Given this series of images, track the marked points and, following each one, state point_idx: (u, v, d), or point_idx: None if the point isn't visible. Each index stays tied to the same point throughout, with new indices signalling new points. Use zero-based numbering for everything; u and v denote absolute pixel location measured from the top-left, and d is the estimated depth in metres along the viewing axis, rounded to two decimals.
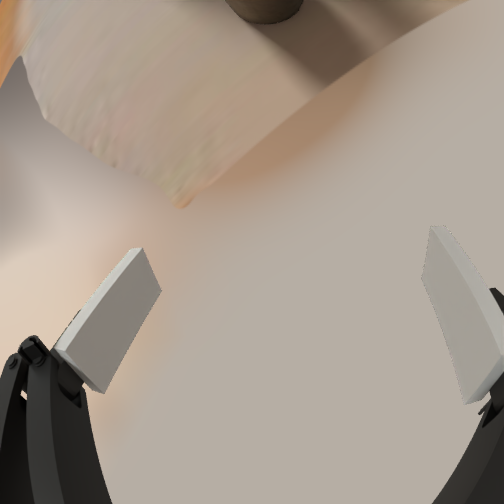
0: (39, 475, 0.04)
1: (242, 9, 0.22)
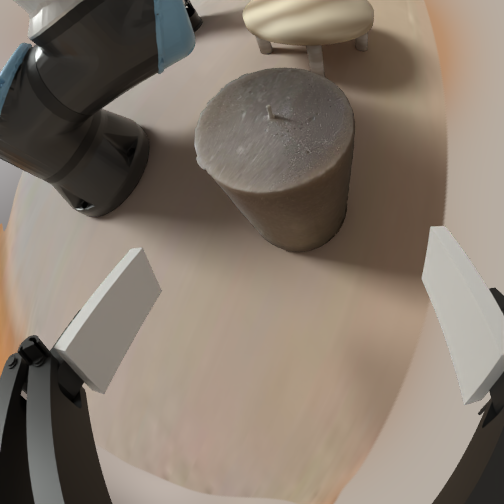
0: (39, 475, 0.04)
1: (297, 236, 0.21)
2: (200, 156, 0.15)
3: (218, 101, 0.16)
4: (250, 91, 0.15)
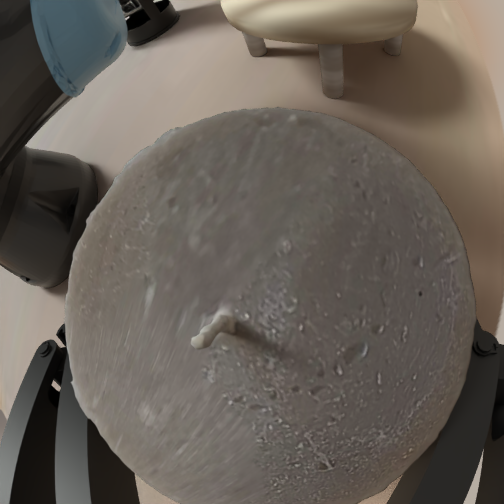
0: (66, 472, 0.04)
1: None
2: (77, 384, 0.06)
3: (103, 222, 0.06)
4: (172, 200, 0.06)
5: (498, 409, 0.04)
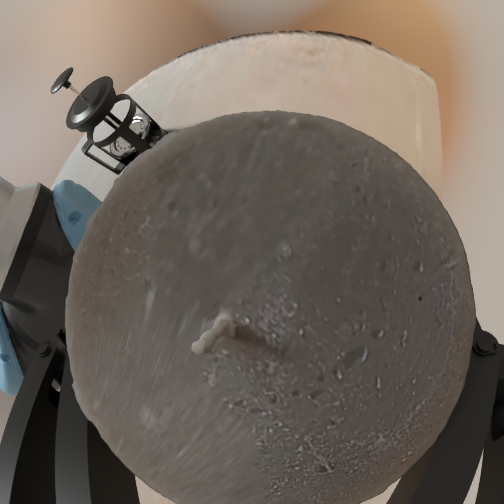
0: (66, 472, 0.04)
1: None
2: (77, 387, 0.06)
3: (103, 225, 0.06)
4: (173, 204, 0.06)
5: (498, 409, 0.04)
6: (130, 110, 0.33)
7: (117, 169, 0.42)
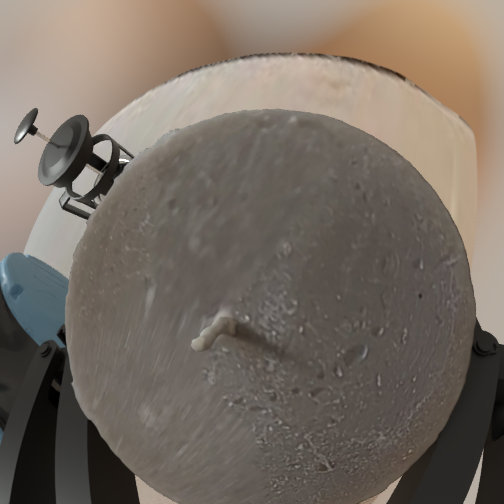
0: (66, 472, 0.04)
1: None
2: (77, 385, 0.06)
3: (103, 224, 0.06)
4: (172, 202, 0.06)
5: (498, 409, 0.04)
6: (111, 161, 0.28)
7: None
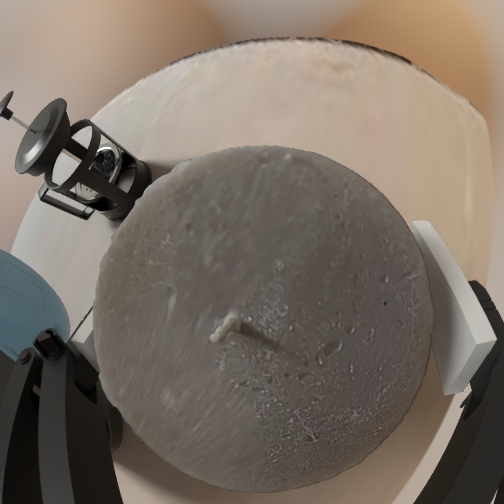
0: (49, 473, 0.04)
1: None
2: (104, 377, 0.07)
3: (127, 240, 0.08)
4: (189, 225, 0.07)
5: None
6: (91, 146, 0.24)
7: (85, 213, 0.33)
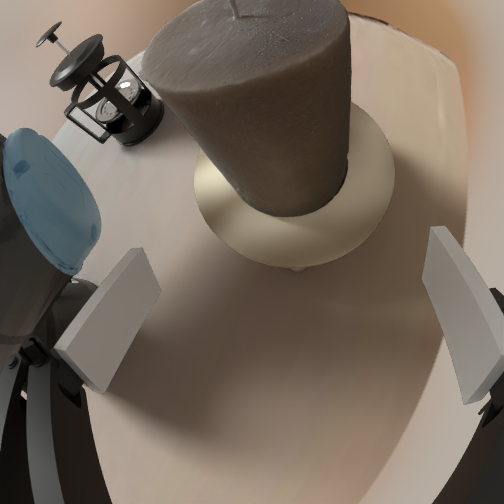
0: (39, 475, 0.04)
1: (282, 187, 0.15)
2: (144, 69, 0.09)
3: (178, 18, 0.10)
4: (216, 3, 0.10)
5: None
6: (118, 69, 0.26)
7: (102, 138, 0.36)
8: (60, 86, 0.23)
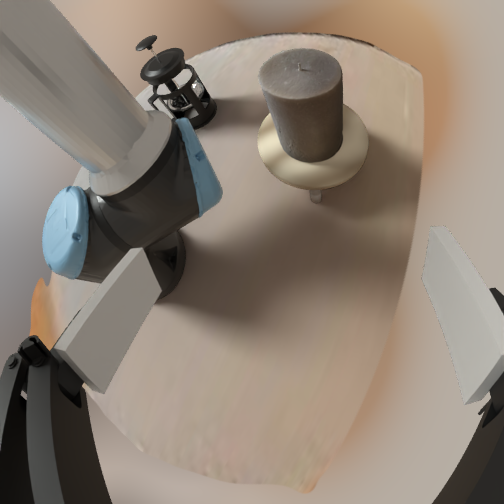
0: (39, 475, 0.03)
1: (313, 141, 0.32)
2: (263, 85, 0.26)
3: (269, 62, 0.27)
4: (287, 58, 0.27)
5: None
6: (193, 75, 0.43)
7: None
8: (152, 81, 0.40)
